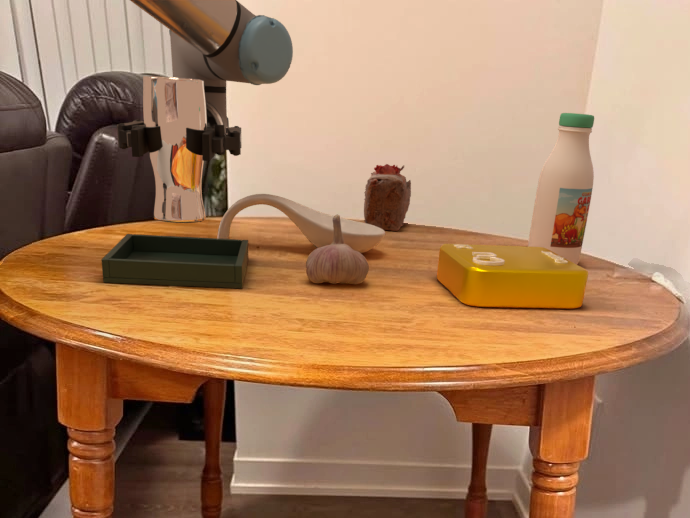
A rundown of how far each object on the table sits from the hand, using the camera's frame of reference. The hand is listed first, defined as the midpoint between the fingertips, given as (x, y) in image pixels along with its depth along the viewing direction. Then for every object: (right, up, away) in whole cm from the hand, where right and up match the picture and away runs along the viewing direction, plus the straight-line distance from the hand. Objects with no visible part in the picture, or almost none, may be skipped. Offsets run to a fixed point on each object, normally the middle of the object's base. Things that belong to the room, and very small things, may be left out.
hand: (170, 145), depth 85 cm
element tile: (+39, -13, +12) cm, 43 cm away
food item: (+25, +8, +51) cm, 58 cm away
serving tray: (-1, -11, +11) cm, 15 cm away
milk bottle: (+49, -4, +31) cm, 58 cm away
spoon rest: (+12, -4, +27) cm, 30 cm away
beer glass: (-1, -5, +8) cm, 10 cm away
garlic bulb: (+18, -13, +10) cm, 24 cm away
